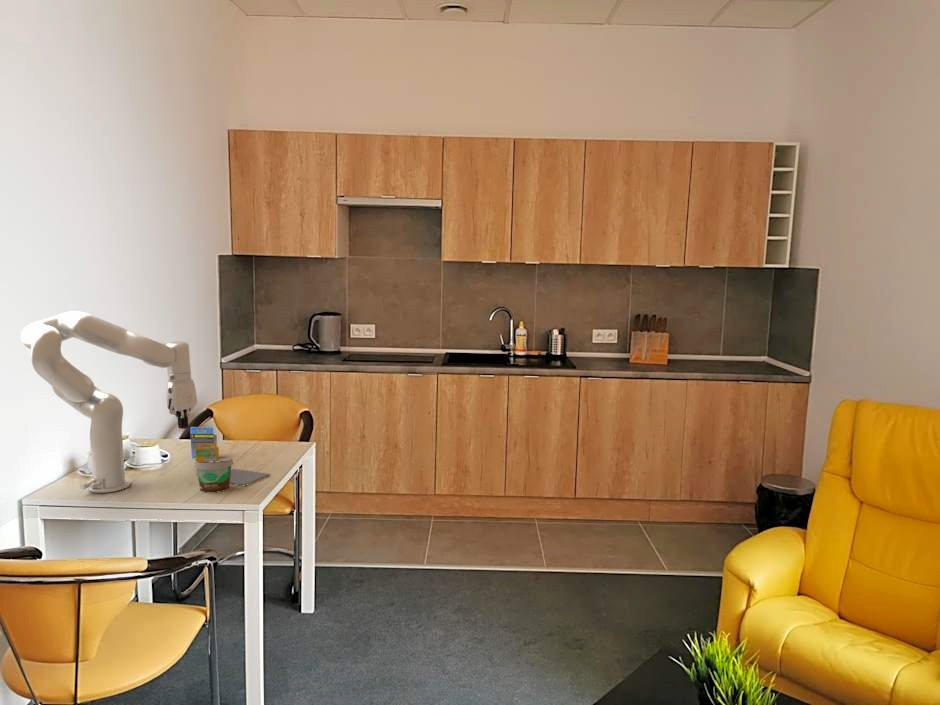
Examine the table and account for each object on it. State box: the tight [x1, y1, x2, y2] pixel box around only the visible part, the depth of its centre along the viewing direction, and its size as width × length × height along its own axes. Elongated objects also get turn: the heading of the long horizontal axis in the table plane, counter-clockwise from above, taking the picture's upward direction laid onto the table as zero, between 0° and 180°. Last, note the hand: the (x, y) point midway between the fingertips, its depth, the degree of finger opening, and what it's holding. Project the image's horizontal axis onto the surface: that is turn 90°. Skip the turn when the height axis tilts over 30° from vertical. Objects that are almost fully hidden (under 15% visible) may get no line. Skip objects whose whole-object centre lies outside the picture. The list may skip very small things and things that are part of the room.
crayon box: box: [195, 443, 220, 477], centre depth 261 cm, size 7×3×12 cm, turn 94°
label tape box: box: [189, 426, 218, 459], centre depth 282 cm, size 9×4×12 cm, turn 89°
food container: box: [193, 457, 234, 493], centre depth 244 cm, size 12×6×10 cm, turn 106°
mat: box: [230, 468, 271, 487], centre depth 258 cm, size 13×16×1 cm
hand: (183, 427), depth 265 cm, fingers closed
